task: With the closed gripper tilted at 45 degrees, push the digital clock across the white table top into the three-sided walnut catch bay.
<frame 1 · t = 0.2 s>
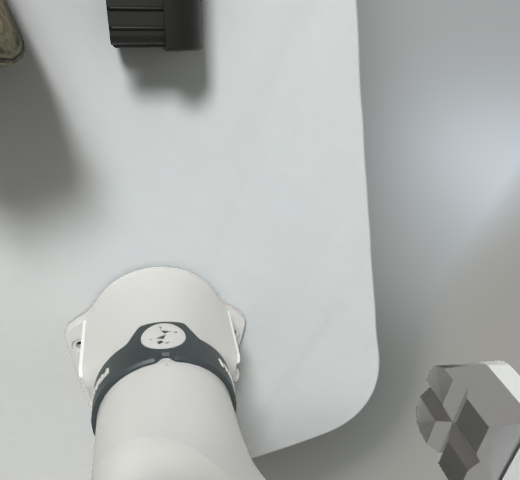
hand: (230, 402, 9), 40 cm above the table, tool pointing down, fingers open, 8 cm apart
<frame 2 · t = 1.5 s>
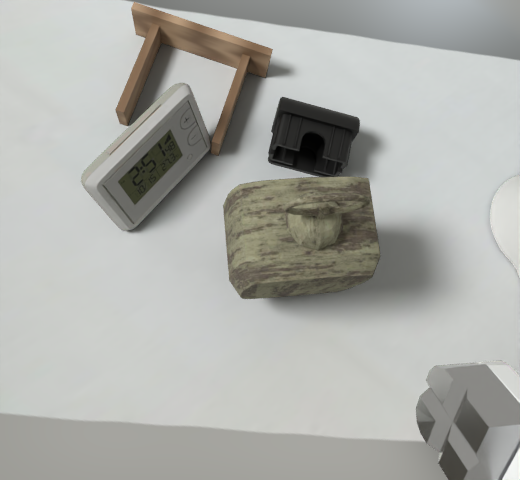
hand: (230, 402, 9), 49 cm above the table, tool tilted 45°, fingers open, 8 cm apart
tabletop clock: (280, 264, 61), on the table
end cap: (305, 148, 65), on the table
catch bay: (187, 92, 65), on the table
digital clock: (156, 177, 62), on the table
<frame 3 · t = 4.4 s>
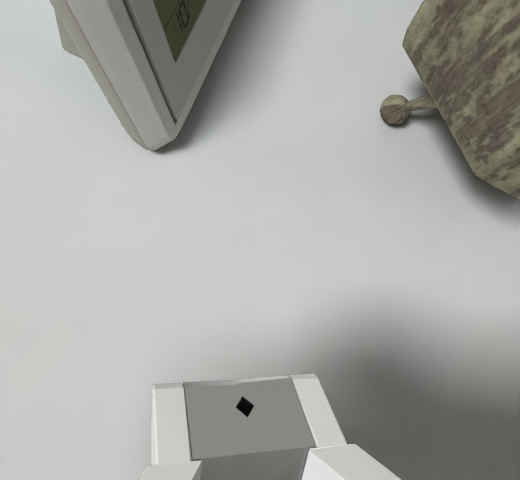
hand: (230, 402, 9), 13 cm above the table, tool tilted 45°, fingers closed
tabletop clock: (477, 134, 30), on the table
digital clock: (174, 24, 27), on the table
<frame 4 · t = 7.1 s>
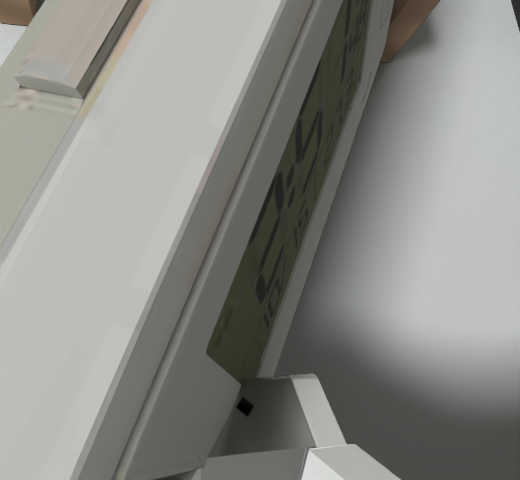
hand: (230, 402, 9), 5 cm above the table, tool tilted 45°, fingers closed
digital clock: (225, 208, 15), on the table, touching gripper
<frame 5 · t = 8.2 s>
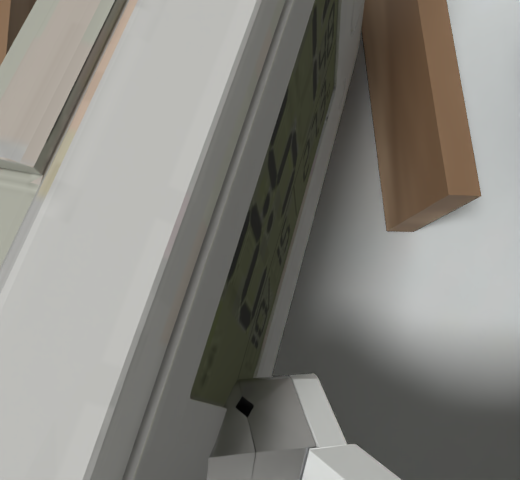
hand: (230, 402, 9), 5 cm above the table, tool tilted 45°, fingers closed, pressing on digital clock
catch bay: (215, 32, 17), on the table
digital clock: (210, 222, 15), on the table, touching gripper
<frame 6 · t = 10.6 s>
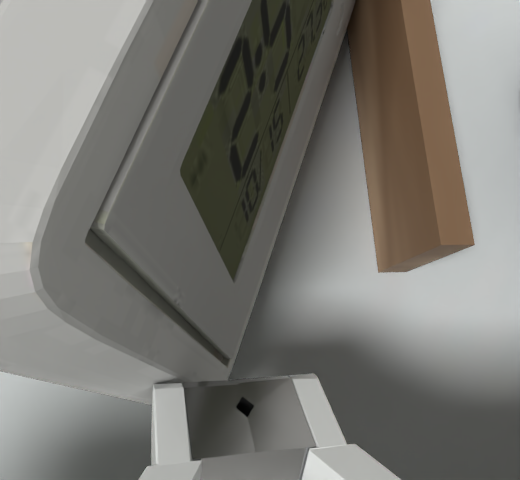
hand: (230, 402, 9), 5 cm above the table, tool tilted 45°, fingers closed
catch bay: (200, 68, 16), on the table
digital clock: (210, 144, 16), on the table
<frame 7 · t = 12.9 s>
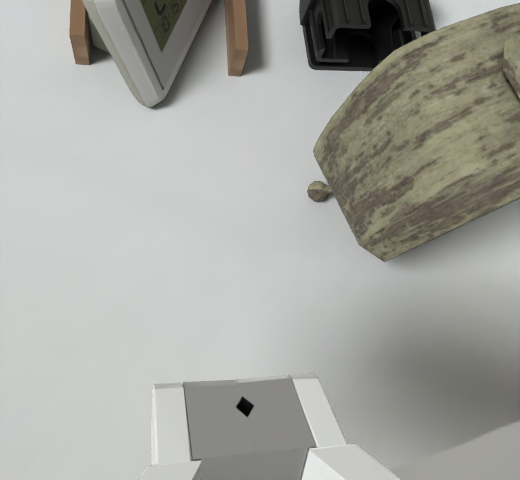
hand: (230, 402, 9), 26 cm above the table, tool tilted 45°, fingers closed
tabletop clock: (381, 203, 42), on the table
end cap: (349, 38, 45), on the table
digital clock: (163, 28, 41), on the table
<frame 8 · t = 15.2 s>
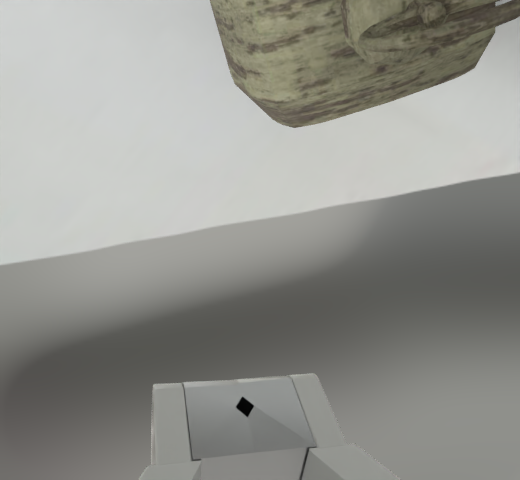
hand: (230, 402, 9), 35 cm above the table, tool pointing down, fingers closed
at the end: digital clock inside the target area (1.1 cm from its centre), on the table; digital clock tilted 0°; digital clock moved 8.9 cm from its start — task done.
